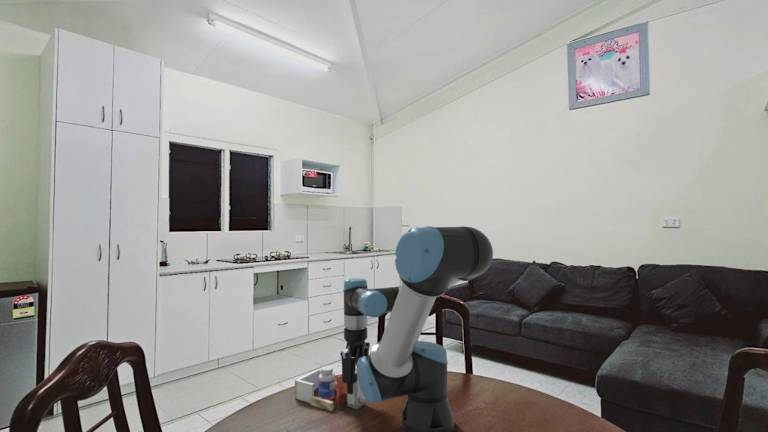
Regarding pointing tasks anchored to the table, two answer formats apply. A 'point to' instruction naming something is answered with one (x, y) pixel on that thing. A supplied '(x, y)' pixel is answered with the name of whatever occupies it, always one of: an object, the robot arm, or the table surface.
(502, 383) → the table surface
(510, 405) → the table surface
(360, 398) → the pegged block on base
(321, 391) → the pill bottle
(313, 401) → the lane rails
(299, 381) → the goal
